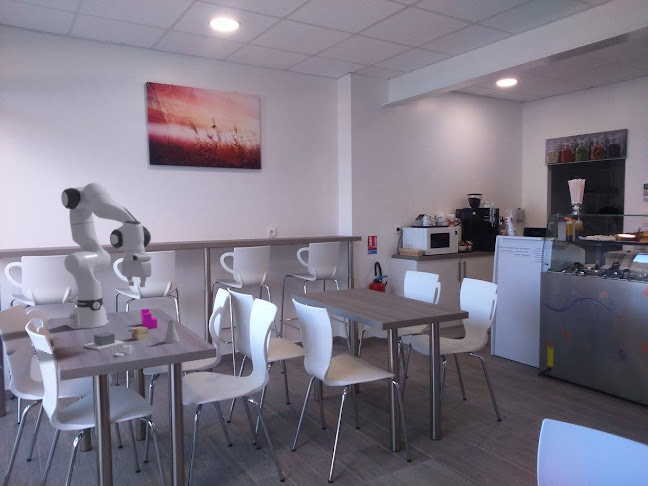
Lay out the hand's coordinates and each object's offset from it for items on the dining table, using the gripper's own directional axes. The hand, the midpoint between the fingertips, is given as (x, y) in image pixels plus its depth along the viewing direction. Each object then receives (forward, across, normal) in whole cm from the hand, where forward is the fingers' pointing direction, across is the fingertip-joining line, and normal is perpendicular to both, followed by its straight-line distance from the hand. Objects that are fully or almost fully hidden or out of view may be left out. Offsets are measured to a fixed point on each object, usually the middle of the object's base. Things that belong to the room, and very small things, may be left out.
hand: (136, 286), depth 236 cm
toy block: (+24, -21, +17) cm, 36 cm away
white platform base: (+24, -1, -16) cm, 29 cm away
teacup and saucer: (+25, +18, -19) cm, 36 cm away
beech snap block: (+24, 0, 0) cm, 24 cm away
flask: (+25, +18, +5) cm, 31 cm away
